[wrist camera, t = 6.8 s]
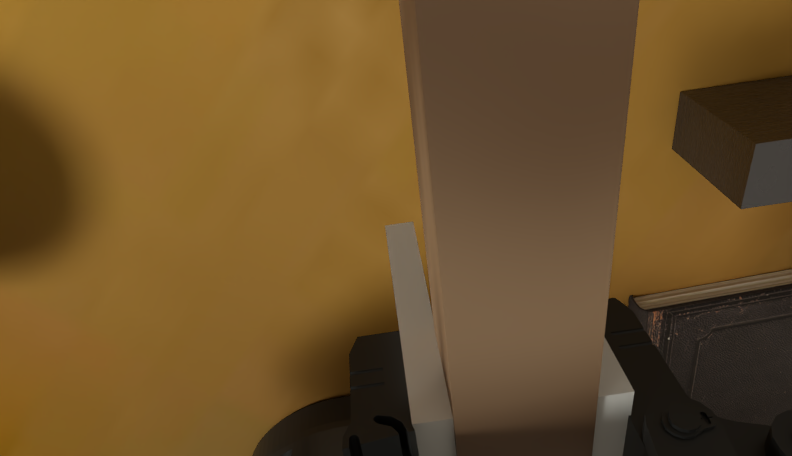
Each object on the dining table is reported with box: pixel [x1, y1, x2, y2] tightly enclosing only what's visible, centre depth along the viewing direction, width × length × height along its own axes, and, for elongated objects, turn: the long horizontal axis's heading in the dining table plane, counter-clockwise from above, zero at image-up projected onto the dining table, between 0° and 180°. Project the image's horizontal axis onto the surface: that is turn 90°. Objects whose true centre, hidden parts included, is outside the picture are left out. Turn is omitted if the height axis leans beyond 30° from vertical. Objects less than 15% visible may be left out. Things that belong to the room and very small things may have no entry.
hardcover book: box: [628, 269, 792, 426], centre depth 41 cm, size 16×23×2 cm
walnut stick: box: [399, 0, 639, 456], centre depth 12 cm, size 24×2×2 cm, turn 7°
